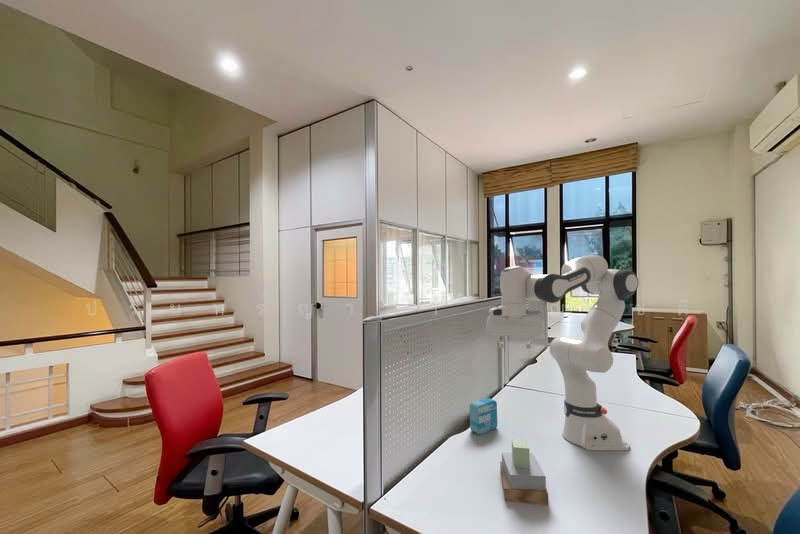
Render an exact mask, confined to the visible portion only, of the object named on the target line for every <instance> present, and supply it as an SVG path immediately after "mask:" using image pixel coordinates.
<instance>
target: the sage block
mask: <svg viewBox="0 0 800 534" xmlns="http://www.w3.org/2000/svg"><path fill="white" fill-rule="evenodd" d="M511 453H512V459H513V463H514V467H519V468H530V453H531V452H530V447H529V443H528V442H527V440H519V439H511Z"/></svg>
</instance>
